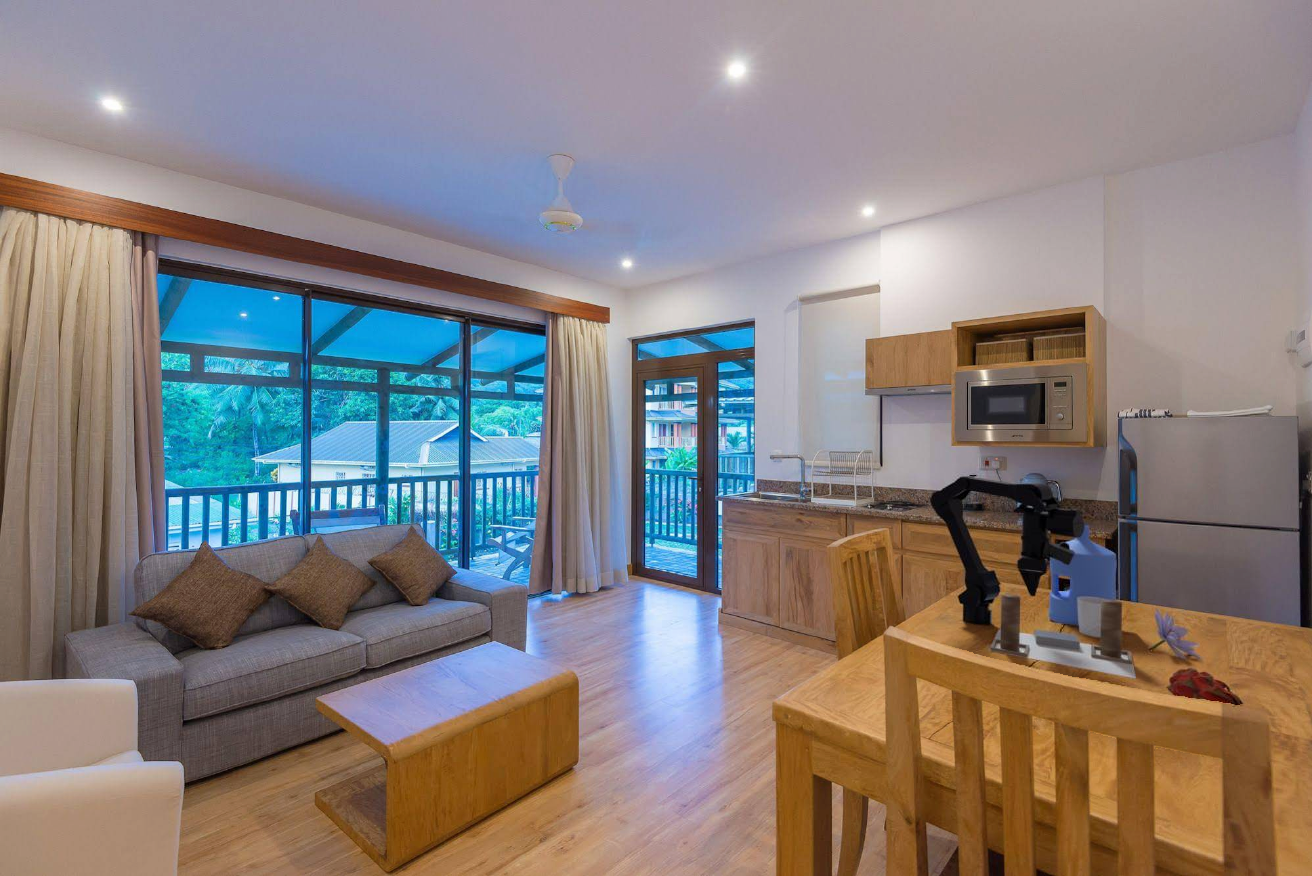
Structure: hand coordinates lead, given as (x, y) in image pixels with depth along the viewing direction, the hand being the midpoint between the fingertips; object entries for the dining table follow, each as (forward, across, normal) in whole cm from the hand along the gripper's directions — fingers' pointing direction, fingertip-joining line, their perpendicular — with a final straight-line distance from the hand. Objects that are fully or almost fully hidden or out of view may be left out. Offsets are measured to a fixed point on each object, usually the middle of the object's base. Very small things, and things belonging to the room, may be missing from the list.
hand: (1034, 592), depth 156 cm
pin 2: (+12, -4, -16) cm, 20 cm away
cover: (+12, -2, -5) cm, 13 cm away
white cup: (+13, +14, -13) cm, 23 cm away
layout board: (+13, -8, -6) cm, 16 cm away
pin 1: (+12, -14, +4) cm, 18 cm away
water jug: (+13, +27, -10) cm, 32 cm away
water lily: (+13, +9, -29) cm, 33 cm away
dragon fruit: (+13, -26, -30) cm, 42 cm away
